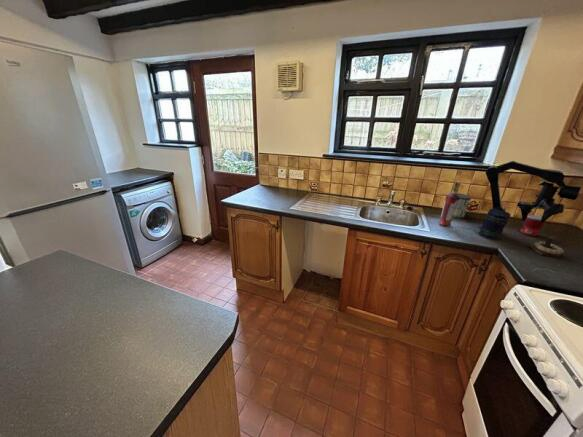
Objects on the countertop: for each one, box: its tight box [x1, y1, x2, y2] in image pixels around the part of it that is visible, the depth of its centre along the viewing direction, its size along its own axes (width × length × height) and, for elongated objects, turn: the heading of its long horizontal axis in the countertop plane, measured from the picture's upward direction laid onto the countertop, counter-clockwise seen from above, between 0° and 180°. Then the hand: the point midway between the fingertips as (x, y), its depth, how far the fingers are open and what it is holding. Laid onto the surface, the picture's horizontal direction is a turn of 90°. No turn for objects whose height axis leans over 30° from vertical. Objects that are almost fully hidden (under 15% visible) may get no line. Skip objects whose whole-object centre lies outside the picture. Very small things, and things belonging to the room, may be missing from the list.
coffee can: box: [453, 192, 472, 218], centre depth 167 cm, size 10×10×14 cm
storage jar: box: [478, 208, 511, 241], centre depth 138 cm, size 10×10×15 cm
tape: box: [533, 241, 565, 255], centre depth 126 cm, size 11×11×2 cm
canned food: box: [520, 214, 546, 237], centre depth 144 cm, size 8×8×11 cm
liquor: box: [438, 181, 461, 227], centre depth 148 cm, size 7×7×28 cm
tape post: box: [527, 236, 562, 258], centre depth 125 cm, size 9×9×8 cm
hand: (532, 221), depth 133 cm, fingers open, 9 cm apart
